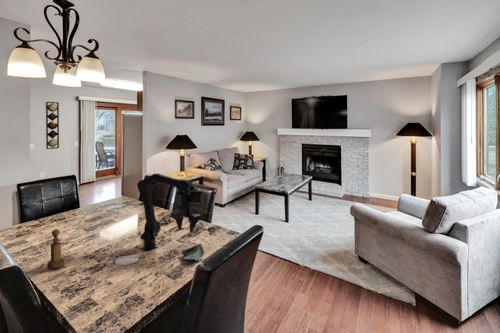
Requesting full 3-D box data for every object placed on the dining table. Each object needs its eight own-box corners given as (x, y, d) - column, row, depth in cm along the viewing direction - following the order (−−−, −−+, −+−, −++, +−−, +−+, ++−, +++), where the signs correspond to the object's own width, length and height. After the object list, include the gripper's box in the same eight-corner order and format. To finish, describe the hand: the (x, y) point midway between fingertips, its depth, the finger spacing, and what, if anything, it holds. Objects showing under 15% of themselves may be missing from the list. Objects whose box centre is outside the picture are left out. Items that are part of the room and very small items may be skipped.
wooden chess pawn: (67, 263, 125) (67, 227, 125) (58, 268, 118) (57, 231, 118) (54, 263, 125) (53, 228, 125) (43, 269, 118) (43, 231, 118)
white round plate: (110, 262, 126) (110, 260, 126) (131, 255, 135) (131, 253, 135) (122, 267, 120) (122, 264, 120) (143, 259, 129) (143, 257, 129)
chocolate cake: (176, 261, 126) (193, 246, 124) (180, 252, 133) (195, 238, 131) (190, 272, 128) (207, 258, 126) (193, 263, 135) (208, 250, 133)
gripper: (162, 203, 135) (162, 231, 135) (185, 206, 125) (185, 237, 125) (178, 200, 144) (178, 227, 144) (201, 203, 134) (201, 232, 134)
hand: (185, 231), depth 137 cm, fingers open, 9 cm apart
